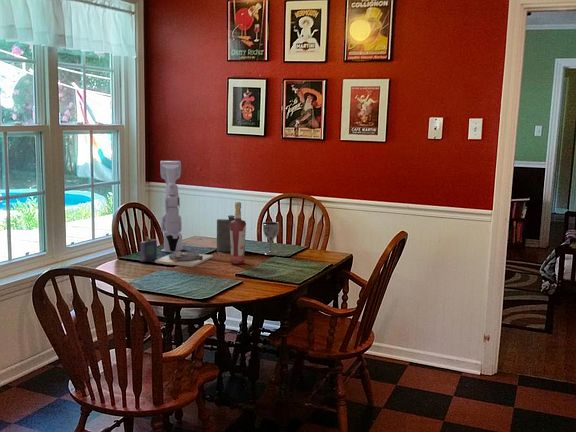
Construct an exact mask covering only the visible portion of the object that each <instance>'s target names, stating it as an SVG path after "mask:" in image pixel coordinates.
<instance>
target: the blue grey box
mask: <svg viewBox="0 0 576 432" xmlns="http://www.w3.org/2000/svg"><path fill="white" fill-rule="evenodd" d="M157 241H158V240H157V239H155V238H150V237H149V236H145V240H144V241H140V243H139V244H140V245H139V246H140V251H139V252H140V257H139V258H140V259H139V260H140V262H142V263H143V262H149V261H152V260H157V259H158V258H157V252H158V251H157V243H158V242H157Z"/></svg>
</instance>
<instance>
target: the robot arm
mask: <svg viewBox="0 0 576 432" xmlns="http://www.w3.org/2000/svg"><path fill="white" fill-rule="evenodd" d="M159 166H160V169H159V170H160V178H161V179H163V180H164V182H165V184H166V185H165V187H164V188H165V197H164V207H165V213H164V214H163V215H162V216H161V217H160V218H161V219H160V231H161V232H162V233H163V248H162V249H161V250H160V252H163V253H164V252H166V253H171V254H172V253H175V252H176V251H182V250H184V248H185V247H183V235H182V233H181V232H182V231H183V230H182V228H183V225H182V223H183V222H182V216H181V215H180V214H179V213H180V211H179V210H180V205H181V200H180V196H179V186H178V185H177V184H176V182H177V180H178V179H180V177H181V176H182V175H181V174H182V162H181V160H160V165H159Z"/></svg>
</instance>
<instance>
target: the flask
mask: <svg viewBox="0 0 576 432" xmlns="http://www.w3.org/2000/svg"><path fill="white" fill-rule="evenodd" d="M227 217H228V218H227V219H225V218H218V219H216V252H219V253H221V252H222V253H231V241H230V222H231V221H233V220H235V215H232V214H231V215H227ZM243 221H244V222H246V220H243ZM245 252H246V247H245V248H244V254H245Z"/></svg>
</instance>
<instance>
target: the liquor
mask: <svg viewBox="0 0 576 432" xmlns="http://www.w3.org/2000/svg"><path fill="white" fill-rule="evenodd" d="M234 208H235V211H234V212H235V213H234V216H235V217H234V219H235V220H233V221H231V222H230V241H231V252H230V259H229V262H230V263H231V264H232V265H234V266H235V265H236V266H240V265H243V264H244V263H245V262H246V259H245V253H244V248H245V249H246V232H247V231H246V228H247V223H246V221H245V220H244V219H242V211H241V210H242V209H241V208H242V202H240V201H239V202H234ZM244 221H245V222H244Z"/></svg>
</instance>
